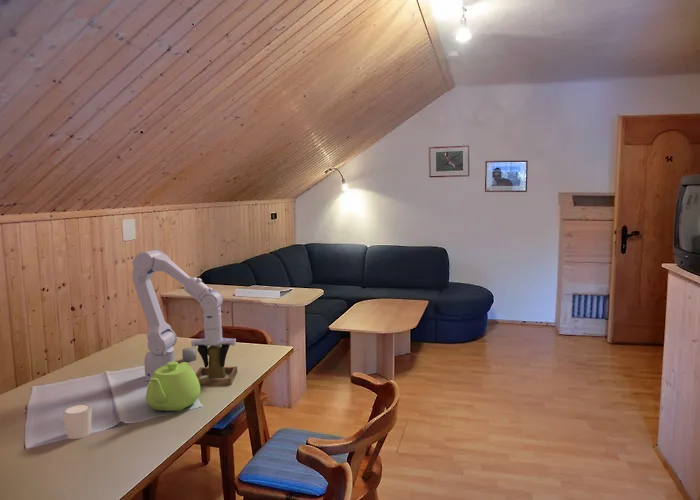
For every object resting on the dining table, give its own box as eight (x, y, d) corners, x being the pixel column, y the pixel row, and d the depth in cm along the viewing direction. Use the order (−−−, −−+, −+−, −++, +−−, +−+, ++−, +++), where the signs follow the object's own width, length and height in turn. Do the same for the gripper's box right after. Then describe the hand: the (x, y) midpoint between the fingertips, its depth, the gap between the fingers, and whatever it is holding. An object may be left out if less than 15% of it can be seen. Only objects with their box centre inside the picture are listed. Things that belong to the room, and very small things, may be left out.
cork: (222, 380, 175) (220, 349, 173) (205, 379, 176) (202, 349, 174) (228, 372, 181) (226, 342, 179) (211, 372, 182) (209, 342, 180)
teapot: (178, 424, 143) (175, 378, 141) (128, 420, 145) (125, 376, 144) (211, 393, 165) (209, 353, 163) (167, 390, 167) (165, 351, 165)
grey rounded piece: (181, 362, 194) (180, 351, 194) (184, 357, 199) (184, 347, 199) (194, 361, 195) (194, 351, 194) (197, 357, 200) (197, 347, 199)
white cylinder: (86, 425, 143) (84, 401, 142) (98, 433, 138) (96, 407, 137) (60, 435, 137) (58, 409, 137) (71, 442, 133) (69, 416, 132)
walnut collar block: (191, 385, 171) (191, 380, 170) (200, 372, 182) (199, 367, 182) (231, 384, 171) (231, 378, 171) (237, 371, 183) (237, 366, 183)
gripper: (236, 323, 179) (238, 361, 181) (194, 324, 178) (196, 362, 180) (233, 329, 172) (234, 368, 174) (188, 330, 171) (190, 369, 173)
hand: (214, 366), depth 176 cm, fingers closed on cork, 5 cm apart
